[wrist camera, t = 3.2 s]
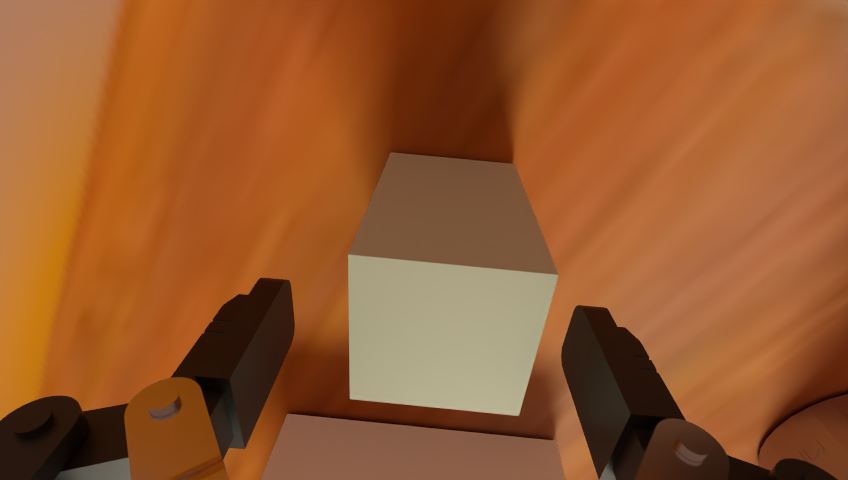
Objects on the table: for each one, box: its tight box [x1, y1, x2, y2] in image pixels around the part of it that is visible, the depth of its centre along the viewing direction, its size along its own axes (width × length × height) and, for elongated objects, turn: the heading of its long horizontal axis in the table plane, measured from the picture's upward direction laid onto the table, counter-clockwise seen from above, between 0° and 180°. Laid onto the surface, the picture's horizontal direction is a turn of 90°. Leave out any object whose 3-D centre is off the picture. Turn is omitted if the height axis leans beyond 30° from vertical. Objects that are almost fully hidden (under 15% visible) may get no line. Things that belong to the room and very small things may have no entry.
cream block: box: [348, 152, 559, 416], centre depth 15 cm, size 5×5×8 cm
